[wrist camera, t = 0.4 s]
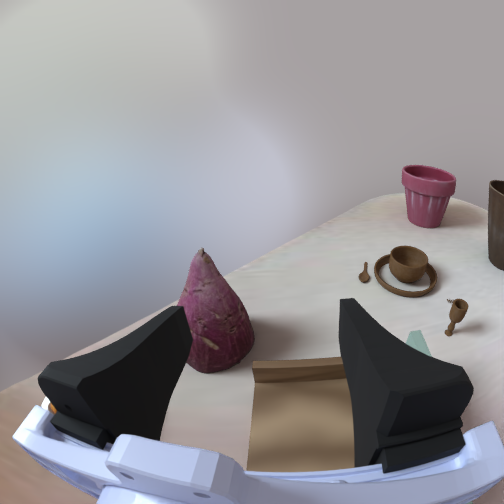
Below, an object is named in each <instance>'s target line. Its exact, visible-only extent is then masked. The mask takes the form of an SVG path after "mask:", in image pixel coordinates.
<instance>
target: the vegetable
mask: <svg viewBox="0 0 504 504" xmlns="http://www.w3.org/2000/svg"><path fill="white" fill-rule="evenodd" d="M177 306H183V307H184V310H185V314H186V317H187V321H188V324H189V327H190V331H191V334H192V337H193V342H192V346H191V350H190V353H189V357H188V359H187V362H186V363H188V364H189V365H190V366H191V367H192V368H194V369H195V370H197V371H199V372H203V373H212V372H218V371H221V370H226V369H228V368H230V367H232V366H234V365H235V364H238V363H240V361H241V360H242V359H243V358H244V357H245V356H246V355H247V354H248V352H249V351H250V350H251V348H252V346H253V343H254V333H253V329H252V326H251V323H250V320H249V316H248V314H247V311H246V309H245V307H244V305H243V303H242V302H241V300H240V298H239V297H238V296H237V294H236V293H235V292H234V291H233V290H232V288H231V287H230V286H229V284H228V283H227V282H226V280H225V279H224V278H223V277H222V275H221V274H220V273H219V271H218V270H217V268H216V266H215V264H214V262H213V261H212V259H211V257H210V256H209V255H208V254H207V253H206V252H204V248H201V249H200V250H199V251H198V253H197V254H196V255H195V256H194V258H193V260H192V262H191V266H190V270H189V274H188V278H187V281H186V285H185V287H184V290H183V292H182V294H181V297H180V299H179V302H178V304H177Z"/></svg>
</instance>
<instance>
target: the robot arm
mask: <svg viewBox="0 0 504 504" xmlns="http://www.w3.org/2000/svg"><path fill="white" fill-rule="evenodd" d="M192 342H193V337H192V334H191V331H190V327H189V324H188V321H187V317H186V314H185V310H184V307H183V306H171V307H169V308H167V309H166V310H164V311H163V312H161V313H160V314H158V315H157V316H155V317H154V318H152V319H151V320H150V321H148V322H147V323H145V324H144V325H142V326H141V327H139V328H138V329H136V330H134V331H133V332H131V333H130V334H128V335H127V336H125V337H123V338H121V339H120V340H118V341H116V342H114V343H112V344H110V345H108V346H105V347H103V348H100V349H98V350H96V351H93V352H91V353H88V354H85V355H81V356H78V357H74V358H70V359H66V360H60V361H55V362H51V363H50V364H49V365H48V366H47V367H46V368H45V369H44V370H43V372H42V373H41V374H40V375H39V376H38V383H39V386H40V388H41V390H42V391H43V393H44V394H45V396H46V397H47V398H48V400H49V401H50V402H51V404H52V405H53V406H54V407H55V409H56V410H57V412H56V413H55V415H54V414H52V413H51V412H50V411H48V410H46V409H44V408H42V407H40V406H38V405H35V407H34V408H33V409H32V411H31V412H30V413H29V415H28V416H27V417H26V419H25V420H24V421H23V423H22V424H21V425H20V427H19V428H18V430H17V431H16V432H15V434H14V435H13V439H14V440H15V441H16V442H17V443H18V444H19V445H20V446H21V447H22V448H23V449H24V450H25V451H26V452H27V453H28V454H29V455H30V456H31V457H32V458H33V459H34V460H36V461H37V462H38V463H39V464H40V465H41V466H42V467H44V468H45V469H47V470H48V471H50V472H51V473H53V474H55V475H56V476H58V477H59V478H61V479H63V480H64V481H66V482H68V483H69V484H71V485H73V486H74V487H76V488H78V489H80V490H81V491H83V492H85V493H87V494H89V495H91V496H92V497H94V498H96V499H98V501H97V503H96V504H466V503H468V502H470V501H473V500H475V499H477V498H479V497H480V496H481V495H483V494H484V493H485V492H487V491H488V490H489V489H491V488H492V487H493V486H495V485H496V484H497V483H498V482H500V481H501V480H502V479H503V478H504V446H503V443H502V441H501V438H500V436H499V433H498V431H497V428H496V426H495V424H494V422H493V421H489V422H487V423H485V424H482V425H480V426H478V427H475V428H473V429H470V430H468V431H467V432H466V433H464V434H463V435H462V432H461V429H460V428H461V427H462V426H463V422H462V420H461V417H460V416H461V415H462V413H463V412H464V410H465V408H466V407H467V405H468V403H469V402H470V399H471V397H472V395H473V389H474V388H473V386H472V384H471V381H470V379H469V377H468V375H467V374H466V372H465V370H464V369H463V367H461V366H458V365H454V364H451V363H447V362H444V361H441V360H438V359H436V358H433V357H431V356H428V355H426V354H424V353H422V352H420V351H418V350H416V349H414V348H412V347H411V346H409V345H407V344H405V343H404V342H402V341H401V340H399V339H398V338H396V337H395V336H394V335H392V334H391V333H390V332H388V331H387V330H386V329H385V328H383V327H382V326H381V325H380V324H379V323H378V322H377V321H376V320H375V319H374V318H372V317H371V316H370V315H369V314H368V313H367V312H366V310H365V309H364V308H363V307H362V306H361V305H360V304H359V303H358V302H357V301H356V300H355V299H354V298H349V299H340V316H339V344H340V352H341V358H342V362H343V366H344V370H345V374H346V378H347V383H348V387H349V391H350V397H351V404H352V415H353V429H354V468H349V469H340V470H329V471H314V472H256V471H244V470H243V468H242V467H241V466H240V465H239V464H238V463H237V462H236V461H235V460H234V459H233V458H230V457H228V456H226V455H223V454H221V453H219V452H214V451H210V450H205V449H201V448H194V447H188V446H182V445H176V444H171V443H166V442H161V441H160V436H161V431H162V427H163V423H164V419H165V415H166V411H167V408H168V405H169V401H170V398H171V395H172V393H173V390H174V388H175V386H176V384H177V382H178V379H179V377H180V375H181V373H182V371H183V368H184V366H185V364H186V362H187V359H188V357H189V353H190V350H191V346H192Z"/></svg>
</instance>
